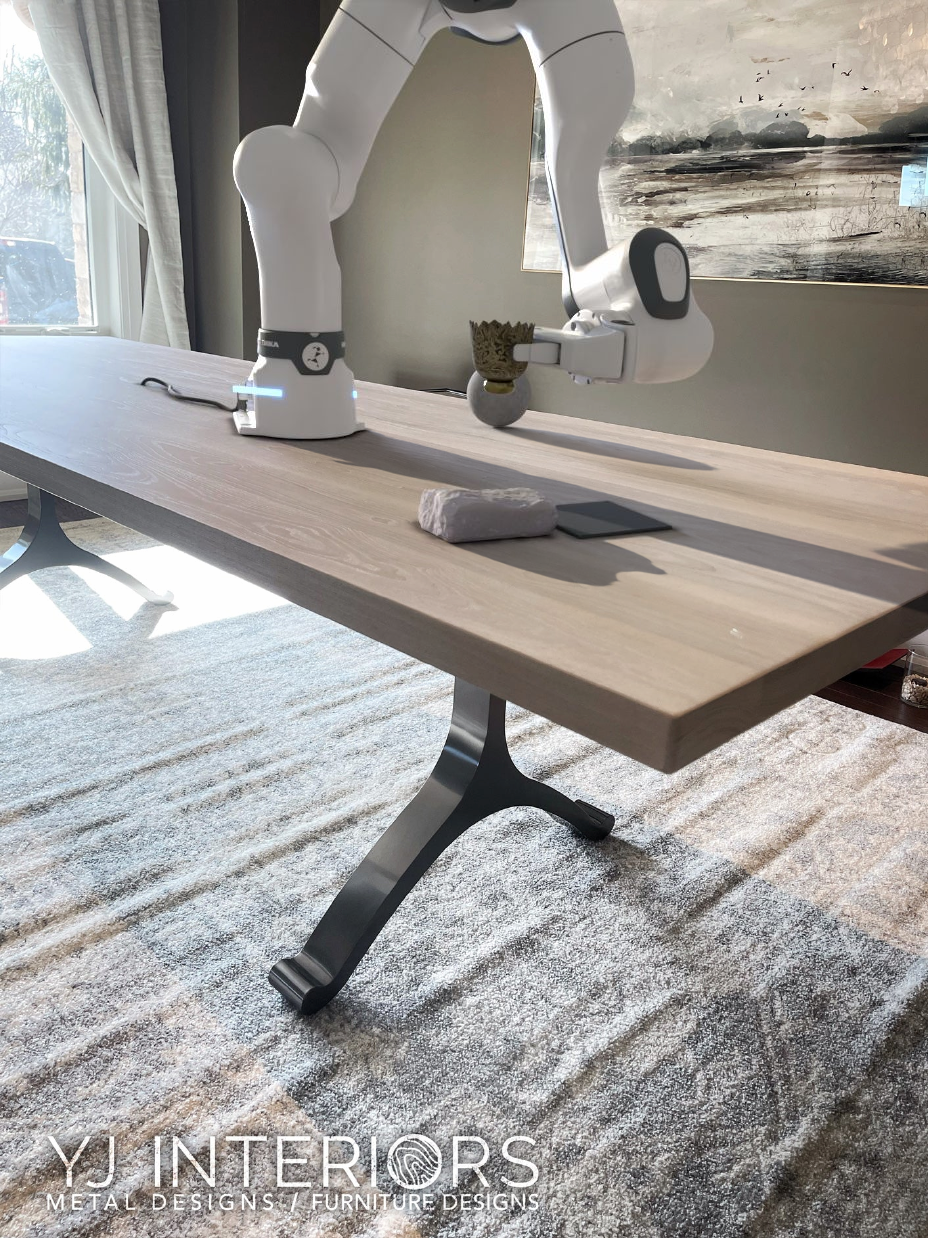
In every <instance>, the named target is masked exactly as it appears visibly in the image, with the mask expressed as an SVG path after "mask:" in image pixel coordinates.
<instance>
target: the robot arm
mask: <svg viewBox="0 0 928 1238" xmlns="http://www.w3.org/2000/svg"><path fill="white" fill-rule="evenodd" d="M447 27H448V28H449V30H450V32H451V33H452V34H454V35H455V36H459V37H462V38H466V39H468V40H469V39H470V40H472V41H475V42H477V43H479V44H480V43H481V44H484V45H486V46H492V47H506V46H511V45H513V44H516V43H517V42H519V41H520V40H522V39H523V40H524V41H525V43H526V45H527V48H528V52H529V54H530V58H531V62H532V64H533V68H534V71H535V76H536V79H537V82H538V83H537V84H538V86H539V87H538V88H539V90H540V95H541V100H542V107H543V114H544V125H545V126H544V127H545V145H544V161H545V162H544V163H545V164H544V165H545V174H546V179H547V180H546V181H547V186H548V193H549V198H550V202H551V208H552V213H553V218H554V224H555V229H556V234H557V239H558V240H557V241H558V246H559V250H560V255H561V264H562V283H561V285H562V286H561V289H562V290H561V296H562V303H563V307H564V310H565V313H566V315H567V317H568V318H569V321H567V322H566V323H565V325H564V326H563V327H562V329H559V328H553V327H547V326H535V328H534V334H533V341H532V344H524V343H520V344H511V345H510V353H509V357H510V359H511V360H515V361H529V362H528V364H530V365H535V366H539V367H544V368H550V369H554V370H558V371H563V372H565V373H566V374H567V375H568V376H570V378H571V379H572V380H573V381H574V382H575V383H576V384H577V385H579V386H582V387H586V386H587V387H588V386H589V387H590V386H618V385H623V384H634V383H636V384H641V385H652V384H653V385H654V384H666V383H674V382H678V381H683V380H686V379H689V378H691V377H693V376H694V375H696V374H697V373H699V372H700V371H701V370H702V369H703V368H704V367H705V365H706V364H707V362H708V360H709V359H710V357H711V355H712V351H713V349H714V344H715V332H714V328H713V324H712V322H711V321H710V319H709V317H707V315H705V313H703V311H702V310H701V308H700V307H699V305H698V303H697V301H696V299H695V296H694V293H693V289H692V286H691V268H690V261H689V257H688V254H687V251H686V250H685V248H684V245H683V244H682V243H681V242H680V241H679V240H678V238H676V236H674V235H673V234H671V232H669V231H666V230H665V229H662V228H660V227H655V226H648V227H644V228H642V229H640V230H638V231H637V232H635V233H633V234H631V235H629V236H627V237H626V238H624V239H622V240H620V241H619V242H617V243H616V244H614V245H613V246H611V247H610V248H609V246H608V243H607V236H606V231H605V224H604V220H603V219H604V218H603V213H602V208H601V203H600V196H599V177H600V171H601V169H602V165H603V162H604V159H605V157H606V154H607V152H608V150H609V148H610V147H611V144H612V143H613V141H614V139H615V137H616V136H617V134H618V132H619V131H620V129H621V128H622V127H623V125H624V123H625V121H626V119H627V117H628V115H629V113H630V111H631V108H632V106H633V103H634V99H635V93H636V87H635V86H636V81H635V70H634V63H633V58H632V55H631V51H630V48H629V43H628V40H627V38H626V37H627V36H626V33H625V30H624V27H623V23H622V20H621V17H620V13H619V11H618V8H617V5H616V3H615V0H342V1H341V3H340V5H339V7H338V9H337V11H336V12H335V14H334V15H333V18H332V20H331V22H330V24H329V26H328V28H327V29H326V31H325V33H324V35H323V37H322V39H321V40H320V42H319V44H318V46H317V48H316V50H315V52H314V54H313V56H312V57H311V59H310V61H309V63H308V65H307V68H306V73H305V86H304V91H303V95H302V99H301V101H300V105H299V109H298V110H297V111H298V112H297V115H296V118H295V120H294V123H293V125H292V126H290V125H285V124H275V125H269V126H265V127H261V128H258V129H256V130H253V131H251V132H250V133H248V134H247V135H246V136H245V137H243V139H242V140H241V142H240V143H239V145H238V146H237V148H236V151H235V153H234V157H233V165H232V169H233V170H232V171H233V178H234V181H235V184H236V188H237V190H238V191H239V193H240V195H241V197H242V199H243V202H244V204H245V207H246V212H247V217H248V221H249V222H248V223H249V226H250V231H251V236H252V239H253V244H254V249H255V253H256V259H257V265H258V266H257V267H258V275H259V292H260V293H259V294H260V295H259V296H260V319H261V328H259V329H258V336H257V351H256V352H257V354H258V359H257V361H256V363H255V365H254V367H253V369H252V371H251V373H250V375H249V377H248V379H245V380H244V383H238V384H237V385H232V392H233V393H236V399H237V401H236V405H235V406H234V407H228V406H227V405H224V404H223V403H221V402H218V401H216V400H213V399H207V398H200V397H193V396H187V395H183V394H180V393H177V392H175V391H174V390H173V389H174V387H173V385H172V384H170V383H168V382H166V381H164V380H161V379H159V378H156V377H153V376H148V377H145V378H143V380H142V381H141V382H140V386H145V385H146V384H147V382H153V383H157V384H159V385H161V386H163V387H165V388H167V391H168V393H169V394H170V395H171V396H172V397H174V398H176V399H179V400H182V401H187V402H192V403H193V402H194V403H198V404H206V405H211V406H215V407H217V408H219V409H222V410H224V411H228V412H233V418H232V419H233V421H234V424H235V427H236V430H237V432H238V434H240V435H248V436H249V435H250V436H263V437H264V436H265V437H271V438H281V439H297V440H299V439H303V440H304V439H307V440H309V439H311V440H312V439H314V440H315V439H331V438H339V437H344V436H349V435H351V434H353V433H355V432H358V431H364V430H366V423H365V421H364V420H358V419H357V417H358V416H357V404H356V403H357V401H356V399H357V398H358V391H356V385H355V375H354V372H353V371H352V370H351V369H350V368H349V367H348V366H347V365H346V363H345V361H344V359H343V358H345V356H346V345H347V344H346V343H347V342H346V339H345V332H344V331H343V329H342V324H343V323H342V271H341V266H340V264H339V263H338V259H337V255H336V250H335V245H334V241H333V240H334V239H333V233H332V228H331V222H333V221H335V220H336V219H338V218H340V217H341V216H342V215H344V214H345V213H346V212H347V211H348V210H349V209H350V207H351V206H352V204H353V202H354V200H355V197H356V193H357V186H358V183H359V181H360V179H361V176H362V173H363V171H364V169H365V166H366V164H367V162H368V159H369V156H370V153H371V150H372V149H373V148H372V147H373V145H374V143H375V140H376V137H377V135H378V132H379V130H380V128H381V126H382V125H383V122H384V121H385V118H386V117H387V115H388V113H389V111H390V110H391V108H392V106H393V104H394V102H395V101H396V99H397V97H398V95H399V94H400V91H401V90H402V89H403V86H404V85H405V83H406V81H407V79H408V78H409V76H410V74H411V73H412V71H413V69H414V66H415V65H416V64H417V62H418V61H419V58H420V57H421V55H422V53H423V52H424V49H425V48H426V46H427V45H428V43H429V41H431V39H432V37H433V36H434V35H435V34H436V33H438V31H440V30H442V29H444V28H447ZM511 326H512V327H514V326H515V325H511ZM528 328H529V325H528Z"/></svg>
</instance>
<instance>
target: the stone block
mask: <svg viewBox="0 0 928 1238" xmlns="http://www.w3.org/2000/svg"><path fill="white" fill-rule="evenodd" d="M420 495H421V496H420V502H419V505H418V511H417V512H418V519H417V520H418V522H419V524H420V527H421V529H422V530H423V531H427V532H429V533H431V534H433V535H434V536H436V537H437V538H440V539H442V540H444V542H447V543H450V544H452V543H467V542H477V541H490V540H497V539H512V538H520V537H523V538H529V537H538V536H539V537H540V536H544V535H551V534H552V533H553V531H554V530H555V528H557V527H556V525H557V522H558V512H557V509H556V506H555V505H556V504H555V503H554V502H552V501H551V500H550V499H549V498H548V497H546V496H544V495H543V494H542V493H540V492H539V491H537V490H535V489H532V488H531V487H529V488H527V487H522V486H521V487H498V488H484V489H476V490H475V489H461V488H434V489H428V488H425V489H424V490H423V491H422V493H421V494H420Z"/></svg>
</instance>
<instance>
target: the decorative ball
mask: <svg viewBox="0 0 928 1238" xmlns="http://www.w3.org/2000/svg"><path fill="white" fill-rule="evenodd" d="M485 380H486V378H483V377H482V376H480V375H479V374H478V372H477V371H476V370H475V371H474V372H473V374H472V375H471V376H470V378H469V381H468V384H467V388H466V400H467V404H468V407H469V409H470V411H471V413H472V415H474V416H475V418H476V419H477V420H479V421H480V422H481V423H483V424H484V425H487V426H490V427H497V428H498V427H499V428H500V427H501V428H502V427H507V426H510V425H512V424H514V423H516V422H517V421H519V420H520V419H521V418H522V417H523V416H524V415H525V413H526V412H527V411H528V408H529V406H530V403H531V398H532V391H531V390H532V389H531V384H530V380H529V379H528V377H527V375H526V374H525V372H524V373H523V374H522V375H521V376H520V377H519V378H517V379H514V380H513V381H514V382H515V386H516V387H515V389H514V391H513V392H512V393H511V394H491V393H488V392H486V391H485V389H484V383H485Z"/></svg>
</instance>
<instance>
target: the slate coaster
mask: <svg viewBox="0 0 928 1238" xmlns="http://www.w3.org/2000/svg"><path fill="white" fill-rule="evenodd" d="M554 505H555V506H556V509H557V512H558V522H557V525H556V527H555V528H556V529H559V530H561V531H562V532H565V533H567V534H570V535H571V536H573V537H576V538H578V539H587V538H597V537H606V536H607V537H608V536H616V535H625V534H634V533H643V532H653V531H661V530H663V531H664V530H672V529H673V525H671V524H668V523H666V522H664V521H661V520H659V519H656V518H653V517H651V516H649V515H645V514H643V513H640V512H638V511H636V510H632V509H630V508H628V507H625V506H623V505H620V504H618V503H615V502H612V501H610V500H601V501H600V500H599V501H588V502H578V503H577V502H576V503H565V504H554Z"/></svg>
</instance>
